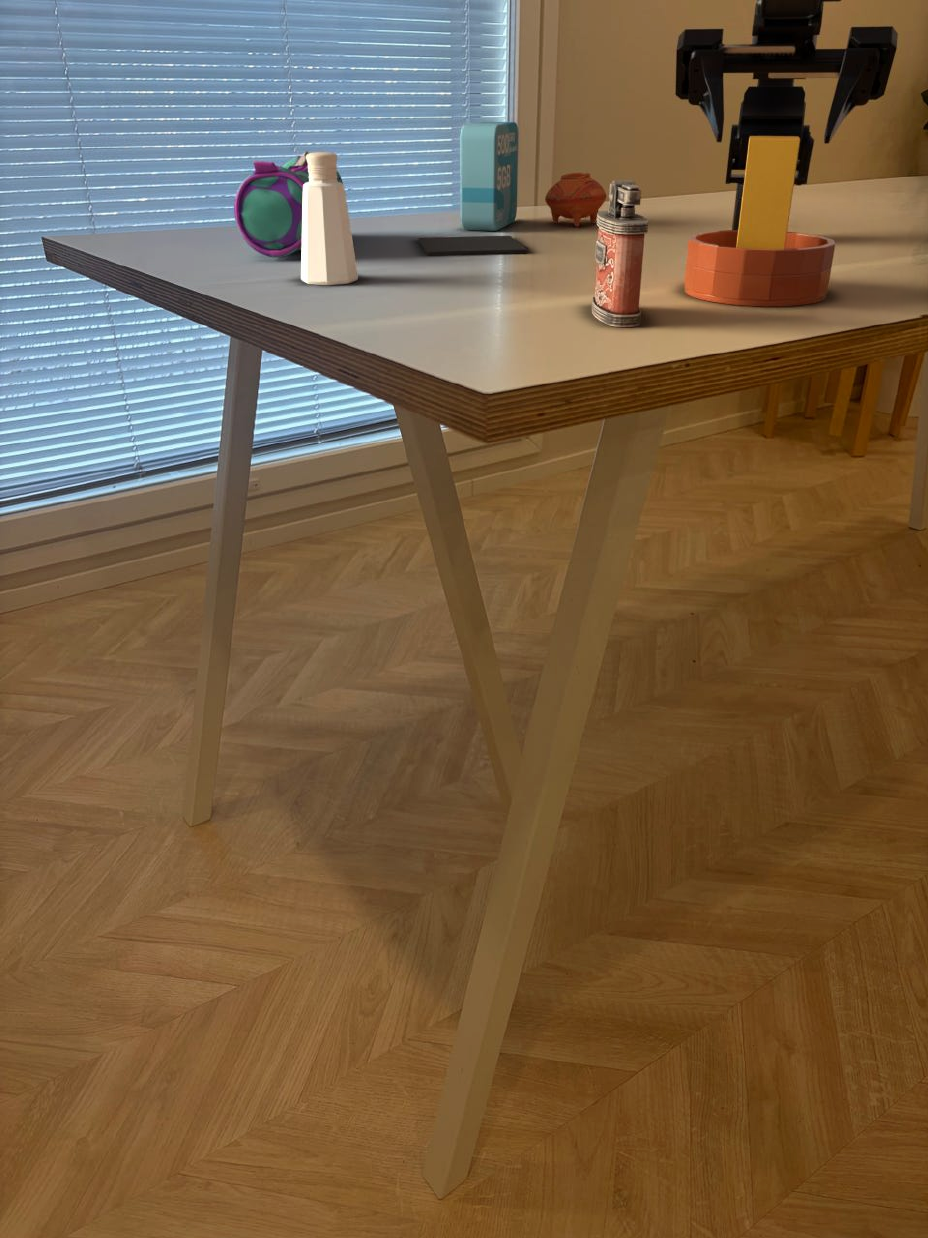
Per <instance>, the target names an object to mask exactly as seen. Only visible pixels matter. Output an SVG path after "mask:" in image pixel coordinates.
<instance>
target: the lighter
mask: <svg viewBox="0 0 928 1238" xmlns="http://www.w3.org/2000/svg"><path fill="white" fill-rule="evenodd" d="M608 195H609V196H608V197H609V203H608V210H601V211H598V212H597V218H596V226H598V234H597V236H598V237H597V240H596V242H595V255H594V259H595V262H596V269H595V271H596V272H595V285H594V287H595V288H594V296H592V298H591V313H592V315H593V316H594V318H595V319H597V320H599V321H600V322H602V323H603V324H606V325H608V326H611V327H618V328H631V327H637V326H640V325H641V319H642V316H641V315H642V311H641V308H640V299H641V298H640V296H641V285H642V273H643V259H644V248H645V237H646V236H645V235H646V234H647V233H648V232H649V231H648V230H649V220H648V218H647V217H645V216H643V215H641V214H638V213H636V206H641V199H642V190H641V189H640V187H639V186H638V185H636V182H635V180H634V179H631V180H630V179H626V180H625V179H623V180H621V179H615V180H614V179H613V180H612V181H611V183H609V192H608Z"/></svg>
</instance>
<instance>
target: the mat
mask: <svg viewBox="0 0 928 1238" xmlns="http://www.w3.org/2000/svg"><path fill="white" fill-rule="evenodd" d="M417 241H418V243H419V245H420V246H421V247H422V249H423V251H424V252H425V253H426V255H427V256H461V255H462V256H463V255H464V256H465V255H467V256H468V255H500V254H501V255H502V254H503V255H506V254H507V255H508V254H509V255H510V254H528V249H527V248H526V247H525V246H524V245H522V244H521V243H520V242H518V241H517V240H516V239H515V238H514V237H512V236H511V235H477V236H476V235H475V236H473V235H472V236H432V237H430V236H429V237H425V236H424V237H417Z"/></svg>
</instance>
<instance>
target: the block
mask: <svg viewBox="0 0 928 1238" xmlns="http://www.w3.org/2000/svg"><path fill="white" fill-rule="evenodd" d="M799 145H800V138H799V137H798V136H750V139H749V146H748V155H747V163H746V170H744V171H745V172H744V174H745V179H744V188H743V196H742V204H741V212H740V221H739V229H738V237H737V245H736V247H739V248H755V249H785V242H786V235H787V232H788V228H789V220H790V215H791V208H792V201H793V194H794V185H795V184H794V180H795V175H796V166H797V159H798V152H799Z"/></svg>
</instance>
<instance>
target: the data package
mask: <svg viewBox="0 0 928 1238" xmlns="http://www.w3.org/2000/svg"><path fill="white" fill-rule="evenodd" d="M459 137H460V138H459V152H460V153H459V158H460V161H459V168H460V169H459V170H460V172H459V173H460V175H459V177H460V182H459V183H460V185H459V186H460V224H461V228H462V229H463V230H464V231H488V232H490V231H491V232H498V231H499V230H501V229H503V228H505V227H506V226H508V225H510V224H512V223H514V222H515V221H516V219H517V214H518V213H517V212H518V173H519V172H518V171H519V170H518V169H519V168H518V167H519V127H518V124H517V122H516V121H479V122H473V123H466V124H463V125H462V127H461V130H460V135H459Z"/></svg>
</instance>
